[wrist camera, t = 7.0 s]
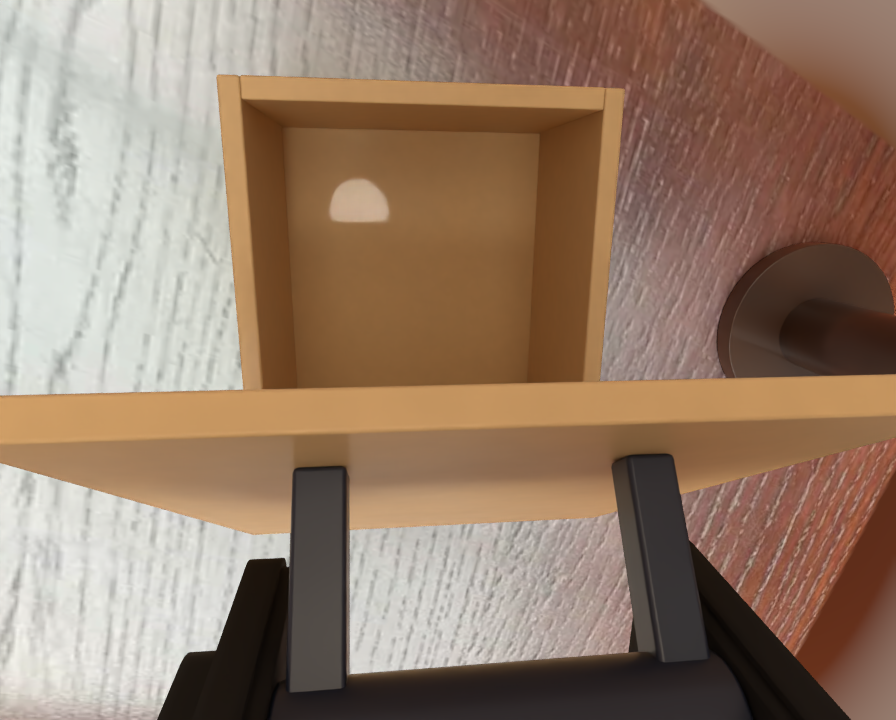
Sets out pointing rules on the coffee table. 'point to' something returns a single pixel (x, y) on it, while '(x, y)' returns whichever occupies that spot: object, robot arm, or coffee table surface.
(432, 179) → the carton
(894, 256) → the coffee table surface
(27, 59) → the coffee table surface
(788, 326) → the stand
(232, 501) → the carton flap
